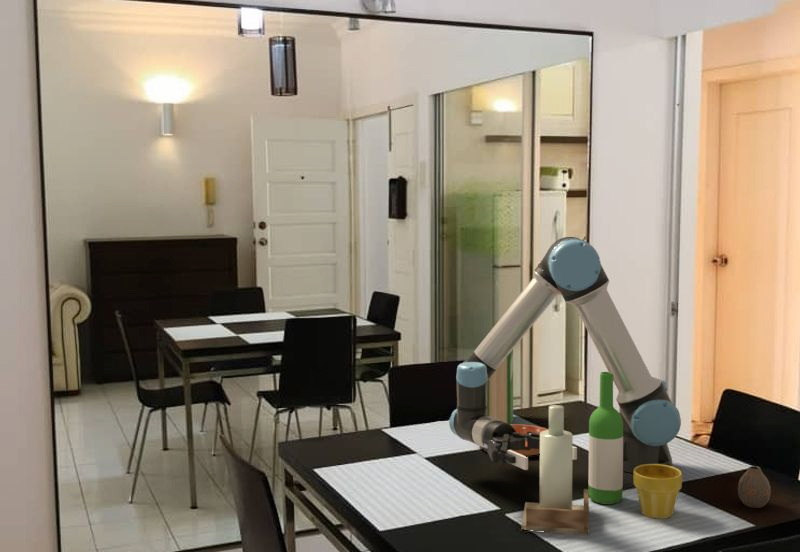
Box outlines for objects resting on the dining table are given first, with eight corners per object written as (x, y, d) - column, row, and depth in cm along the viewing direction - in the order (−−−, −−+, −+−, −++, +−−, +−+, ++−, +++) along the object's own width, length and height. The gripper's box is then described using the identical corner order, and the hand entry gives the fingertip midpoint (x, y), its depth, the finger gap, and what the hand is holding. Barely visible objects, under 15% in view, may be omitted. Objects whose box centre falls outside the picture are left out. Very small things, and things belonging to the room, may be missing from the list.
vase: (767, 512, 196) (768, 474, 195) (734, 507, 200) (735, 469, 199) (772, 503, 202) (773, 465, 201) (740, 497, 206) (741, 461, 205)
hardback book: (510, 431, 264) (510, 352, 261) (485, 430, 265) (485, 351, 263) (513, 416, 281) (513, 341, 279) (489, 415, 282) (489, 341, 280)
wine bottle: (585, 493, 210) (586, 369, 207) (618, 493, 209) (620, 369, 206) (591, 505, 202) (592, 376, 199) (625, 505, 202) (627, 376, 199)
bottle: (572, 509, 196) (572, 403, 193) (571, 521, 189) (572, 411, 187) (540, 507, 197) (540, 402, 195) (538, 519, 190) (539, 410, 188)
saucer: (571, 443, 252) (571, 430, 251) (538, 465, 233) (538, 451, 232) (498, 432, 264) (498, 420, 264) (462, 452, 245) (462, 439, 244)
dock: (588, 510, 199) (588, 489, 198) (588, 535, 185) (588, 512, 185) (525, 507, 201) (525, 486, 201) (521, 530, 188) (521, 508, 187)
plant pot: (653, 525, 190) (654, 481, 189) (623, 509, 199) (623, 467, 198) (691, 517, 194) (692, 474, 193) (659, 502, 203) (660, 461, 202)
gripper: (536, 442, 218) (594, 465, 199) (451, 459, 206) (505, 485, 187) (536, 413, 217) (595, 433, 199) (450, 427, 205) (505, 450, 187)
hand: (551, 458), depth 193 cm, fingers open, 13 cm apart
